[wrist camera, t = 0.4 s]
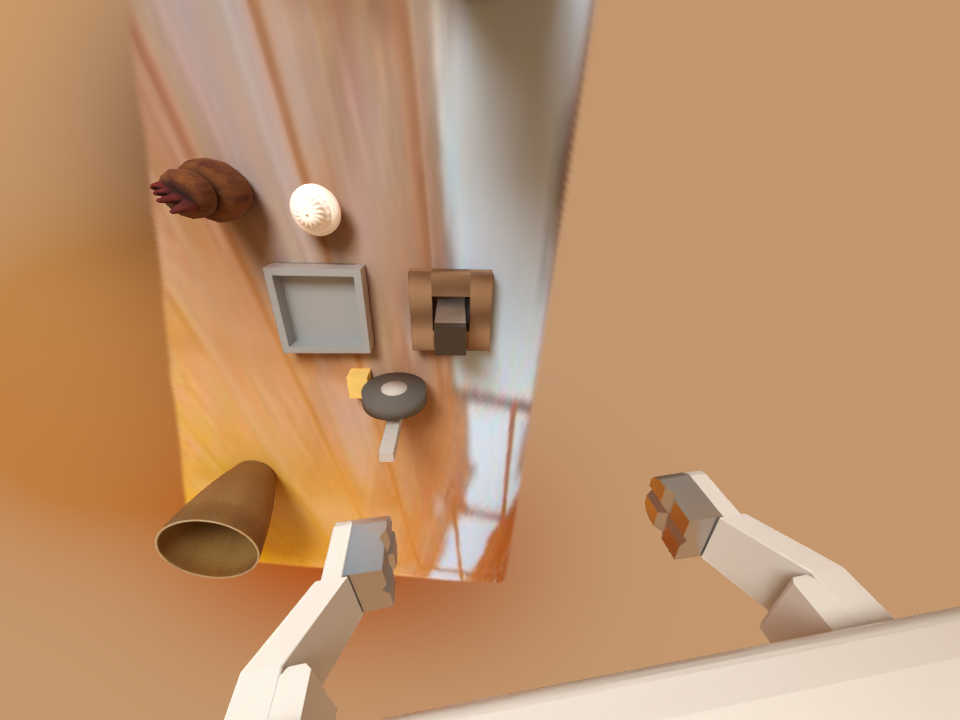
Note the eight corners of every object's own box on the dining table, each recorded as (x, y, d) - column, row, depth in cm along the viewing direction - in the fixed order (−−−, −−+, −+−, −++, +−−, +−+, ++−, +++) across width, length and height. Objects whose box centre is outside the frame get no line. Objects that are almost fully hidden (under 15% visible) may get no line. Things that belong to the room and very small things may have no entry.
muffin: (348, 234, 51) (333, 244, 45) (302, 228, 50) (281, 237, 44) (347, 185, 48) (331, 189, 42) (298, 178, 47) (275, 181, 41)
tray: (272, 262, 52) (262, 267, 49) (364, 264, 53) (360, 269, 50) (291, 344, 58) (283, 353, 55) (374, 344, 59) (370, 353, 56)
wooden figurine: (271, 201, 48) (202, 215, 35) (238, 224, 49) (160, 246, 36) (230, 149, 45) (138, 144, 32) (197, 175, 46) (95, 180, 33)
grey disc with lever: (351, 368, 61) (322, 425, 48) (427, 368, 62) (420, 424, 49) (356, 400, 64) (330, 462, 51) (429, 400, 65) (422, 461, 52)
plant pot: (210, 489, 72) (151, 569, 58) (221, 436, 66) (157, 510, 52) (287, 508, 76) (249, 587, 62) (304, 459, 70) (267, 534, 56)
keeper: (410, 268, 53) (408, 273, 51) (491, 269, 54) (493, 275, 52) (414, 341, 59) (412, 350, 57) (487, 342, 60) (489, 350, 57)
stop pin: (438, 294, 56) (434, 326, 45) (464, 295, 56) (466, 326, 45) (438, 319, 58) (434, 355, 47) (463, 319, 58) (465, 355, 47)
